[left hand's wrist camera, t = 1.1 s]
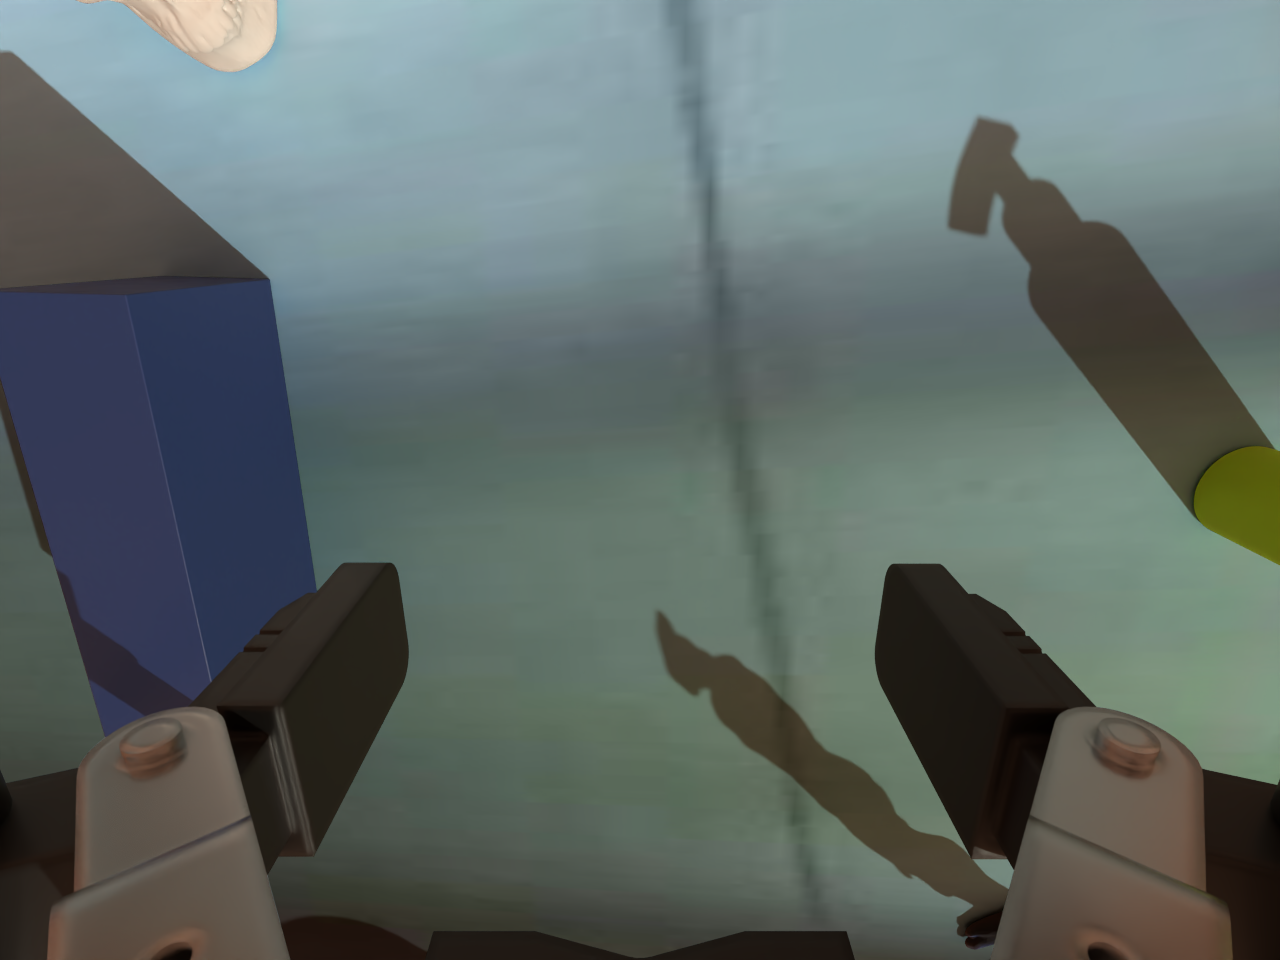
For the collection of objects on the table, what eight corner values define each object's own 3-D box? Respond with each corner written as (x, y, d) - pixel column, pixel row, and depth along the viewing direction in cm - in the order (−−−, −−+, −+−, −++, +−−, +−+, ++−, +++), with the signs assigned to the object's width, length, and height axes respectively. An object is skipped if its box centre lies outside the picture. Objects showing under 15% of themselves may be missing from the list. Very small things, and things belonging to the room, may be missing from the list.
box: (161, 275, 38) (-27, 290, 27) (269, 278, 38) (125, 294, 27) (245, 693, 47) (130, 826, 37) (332, 694, 47) (243, 828, 37)
